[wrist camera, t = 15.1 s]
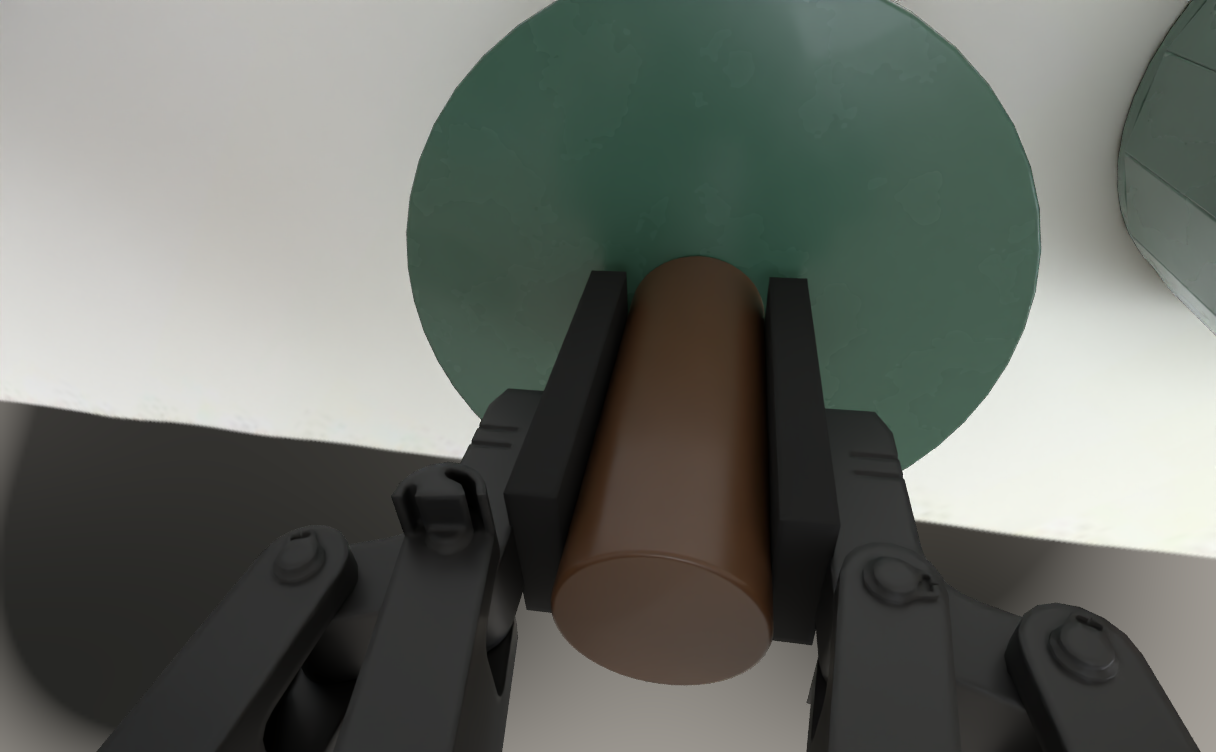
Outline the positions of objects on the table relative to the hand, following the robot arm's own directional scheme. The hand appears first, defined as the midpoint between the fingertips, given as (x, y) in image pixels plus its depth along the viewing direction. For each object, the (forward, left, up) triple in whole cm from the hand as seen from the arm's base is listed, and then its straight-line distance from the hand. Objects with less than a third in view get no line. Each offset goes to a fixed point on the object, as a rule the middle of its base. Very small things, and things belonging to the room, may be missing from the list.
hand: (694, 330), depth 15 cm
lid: (0, 0, -1) cm, 1 cm away
